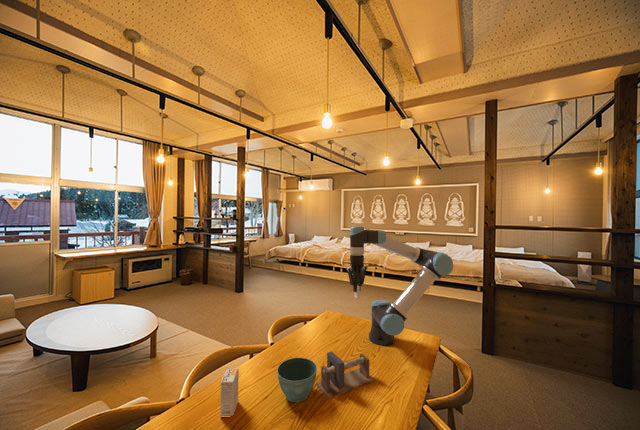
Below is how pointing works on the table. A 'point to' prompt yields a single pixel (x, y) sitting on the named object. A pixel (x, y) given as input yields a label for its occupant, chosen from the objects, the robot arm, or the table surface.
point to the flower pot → (297, 378)
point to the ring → (339, 364)
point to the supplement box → (229, 392)
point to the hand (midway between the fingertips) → (356, 297)
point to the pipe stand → (345, 377)
